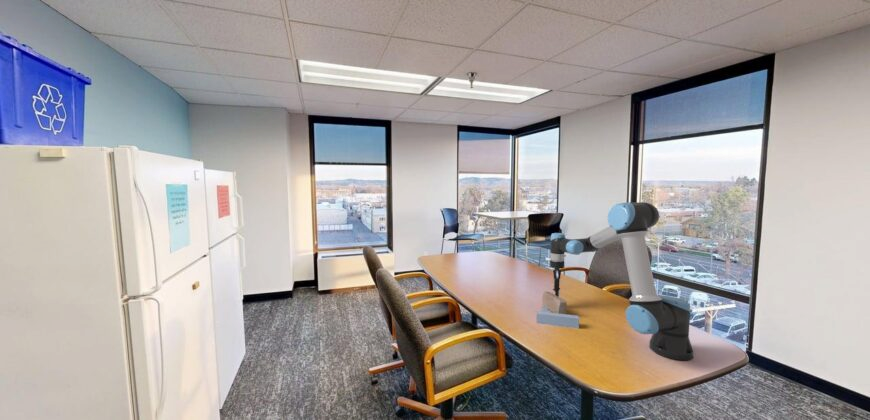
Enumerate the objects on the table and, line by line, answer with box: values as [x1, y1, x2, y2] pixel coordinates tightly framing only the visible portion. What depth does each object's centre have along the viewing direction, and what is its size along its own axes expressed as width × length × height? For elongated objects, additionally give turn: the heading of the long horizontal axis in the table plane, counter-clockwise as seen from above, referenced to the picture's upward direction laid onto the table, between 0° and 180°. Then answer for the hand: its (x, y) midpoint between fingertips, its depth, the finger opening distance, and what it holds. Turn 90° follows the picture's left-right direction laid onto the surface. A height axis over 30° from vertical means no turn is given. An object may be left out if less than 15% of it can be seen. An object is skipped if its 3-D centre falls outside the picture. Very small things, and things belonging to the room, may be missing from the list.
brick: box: [541, 290, 568, 314], centre depth 181 cm, size 16×8×5 cm
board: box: [536, 305, 580, 329], centre depth 169 cm, size 12×20×5 cm, turn 71°
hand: (556, 301), depth 185 cm, fingers closed
